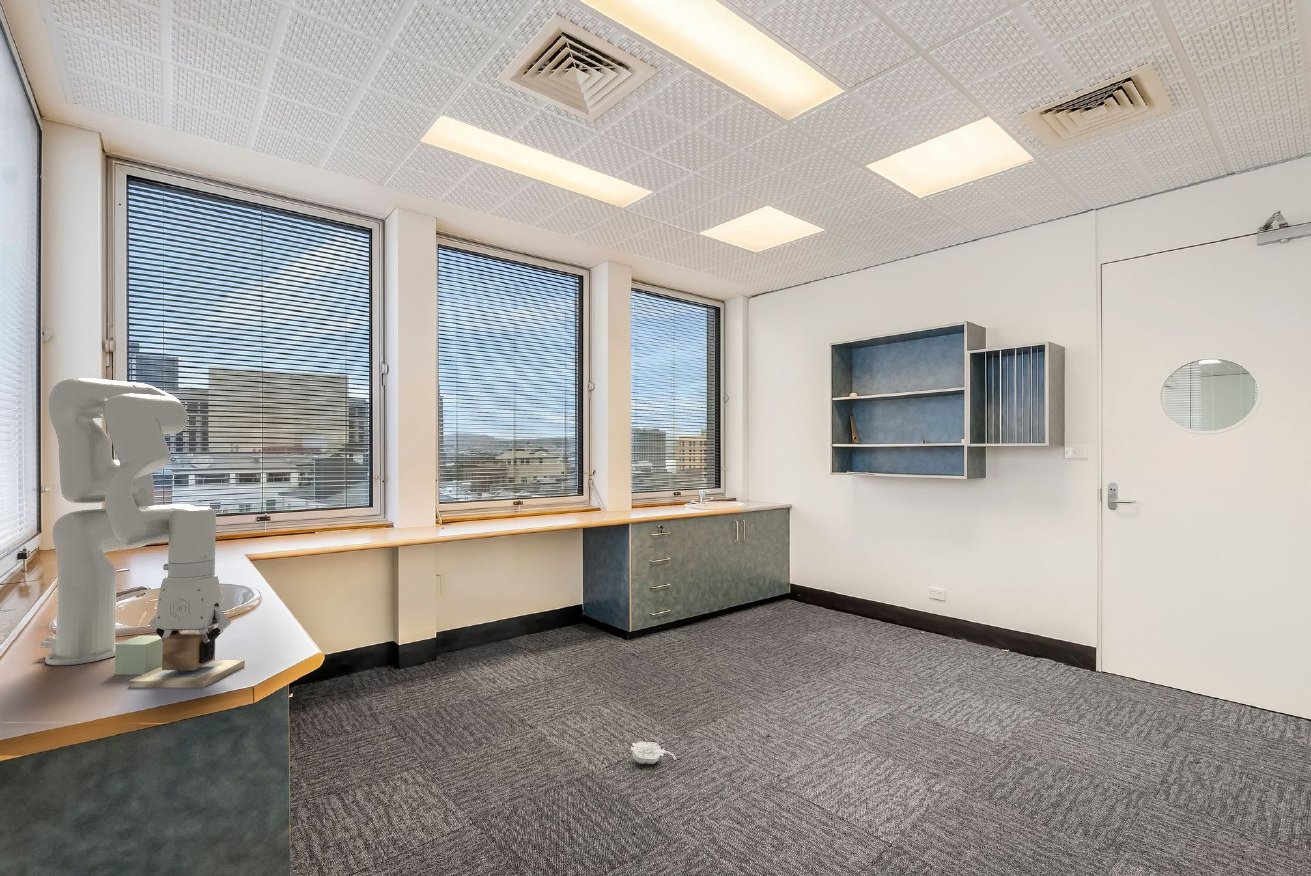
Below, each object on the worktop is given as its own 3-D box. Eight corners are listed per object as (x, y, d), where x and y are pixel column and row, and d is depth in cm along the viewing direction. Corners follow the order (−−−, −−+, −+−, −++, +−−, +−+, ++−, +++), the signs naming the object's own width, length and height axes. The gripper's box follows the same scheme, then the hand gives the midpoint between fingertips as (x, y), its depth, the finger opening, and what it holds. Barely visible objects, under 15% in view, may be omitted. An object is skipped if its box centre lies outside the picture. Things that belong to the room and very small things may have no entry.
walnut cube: (161, 670, 121) (162, 638, 121) (185, 659, 127) (185, 629, 127) (193, 670, 121) (194, 639, 121) (214, 659, 127) (215, 630, 127)
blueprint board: (128, 687, 118) (128, 680, 118) (176, 665, 130) (176, 659, 130) (203, 687, 118) (203, 681, 118) (244, 665, 130) (244, 660, 130)
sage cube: (114, 674, 125) (115, 644, 125) (139, 664, 131) (139, 635, 131) (145, 674, 125) (145, 644, 125) (168, 664, 131) (168, 635, 131)
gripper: (132, 572, 121) (129, 667, 120) (222, 573, 121) (220, 668, 120) (162, 565, 128) (160, 654, 128) (247, 566, 128) (245, 655, 128)
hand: (189, 660), depth 124 cm, fingers closed on walnut cube, 5 cm apart
